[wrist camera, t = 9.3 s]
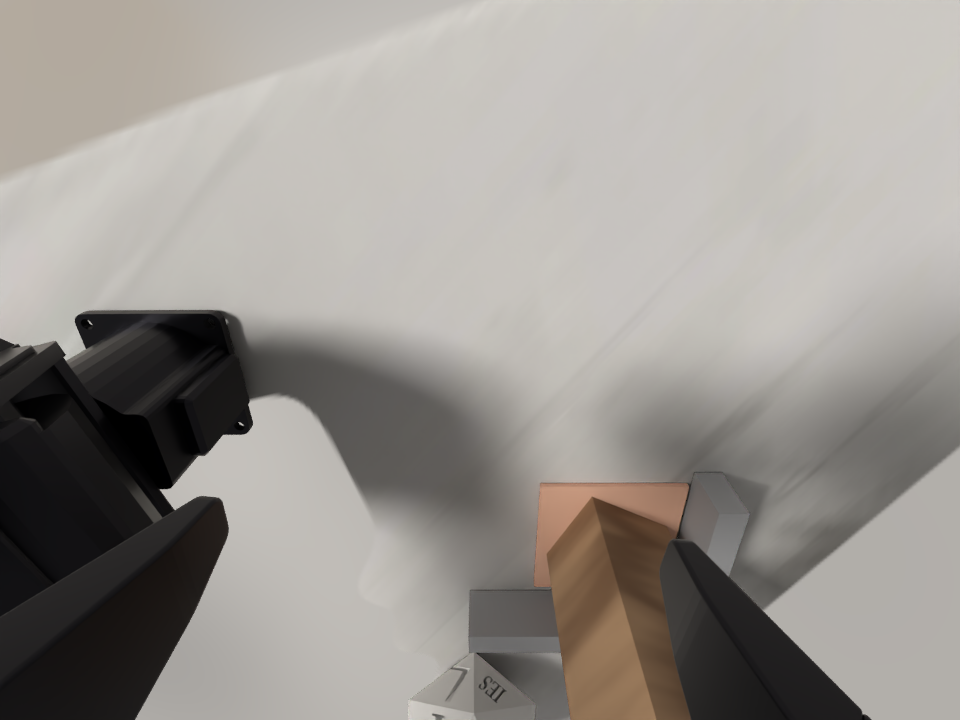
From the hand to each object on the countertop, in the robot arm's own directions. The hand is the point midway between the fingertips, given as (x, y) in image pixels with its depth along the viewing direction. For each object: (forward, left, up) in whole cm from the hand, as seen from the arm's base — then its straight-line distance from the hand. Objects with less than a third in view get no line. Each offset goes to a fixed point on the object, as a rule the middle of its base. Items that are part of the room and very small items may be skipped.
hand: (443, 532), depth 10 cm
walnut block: (+8, -14, -13) cm, 21 cm away
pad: (+8, -14, -13) cm, 21 cm away
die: (0, -28, -13) cm, 31 cm away
